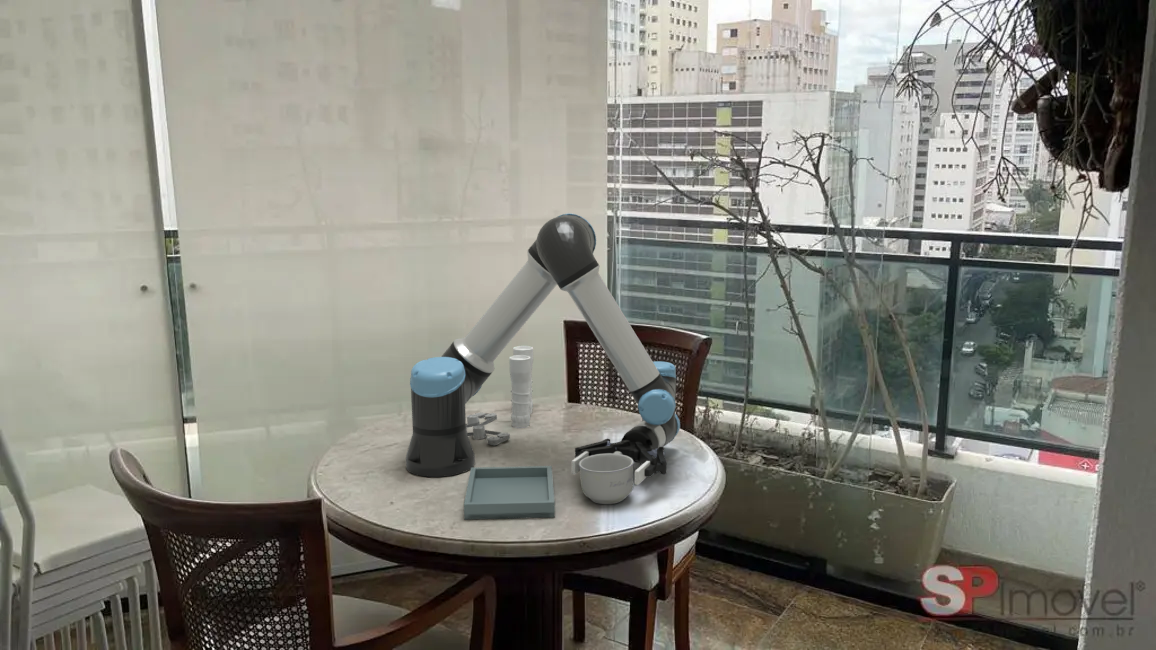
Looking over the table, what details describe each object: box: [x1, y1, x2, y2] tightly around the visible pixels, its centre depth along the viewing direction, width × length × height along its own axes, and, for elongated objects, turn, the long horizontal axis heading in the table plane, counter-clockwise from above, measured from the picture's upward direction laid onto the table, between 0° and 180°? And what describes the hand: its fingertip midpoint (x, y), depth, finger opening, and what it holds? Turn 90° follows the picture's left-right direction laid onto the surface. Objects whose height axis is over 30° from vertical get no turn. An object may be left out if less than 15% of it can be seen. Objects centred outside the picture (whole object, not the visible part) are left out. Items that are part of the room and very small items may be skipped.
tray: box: [463, 465, 556, 521], centre depth 167 cm, size 17×20×3 cm
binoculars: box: [508, 345, 534, 429], centre depth 220 cm, size 17×5×18 cm, turn 0°
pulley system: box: [466, 412, 511, 447], centre depth 211 cm, size 27×5×15 cm
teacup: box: [579, 451, 634, 505], centre depth 168 cm, size 14×11×8 cm
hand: (604, 472), depth 165 cm, fingers open, 13 cm apart
